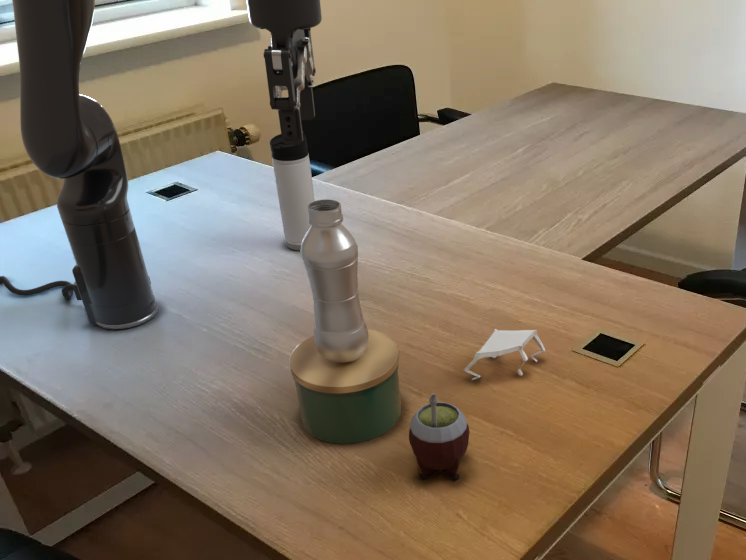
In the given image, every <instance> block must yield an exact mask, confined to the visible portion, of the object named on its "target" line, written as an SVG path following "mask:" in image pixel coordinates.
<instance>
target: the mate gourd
mask: <svg viewBox="0 0 746 560" xmlns="http://www.w3.org/2000/svg"><path fill="white" fill-rule="evenodd" d="M428 401H429V403H427V404H424V405H423V406H421V407H420V408H419V409H418V410H417V411H416V413H414V414H413V416H412V417H411V420H410V425H409V431H408V441H409V445H410V447H411V449H412V452H413V455H414V457H415V459H416V464H417V466H418V468H419V471H420V473H419V474H418V477H419V479H420V480H421V481H424V480H427V479H428V478H430V477H432V476H434V475H435V474H438V473H439V472H442V473H443V474H444V475H446V476H447V477H449V478H450V479H451V480H453V481H454V482H457V481H458V480H460V477H461V475H459V474H458V470H459V467H460V462H461V460H462V459H463V457H464V456H465V454H466V452H467V449H468V447H469V440H470V427H469V424H468V420H467V418H466V416H465V414H464V413H463V411H462V410H461V409H459V408H458V407H457V406H455V405H454V404H452V403H449V402H448V403H447V402H445V401H438V397H437V394H435V393H431V394H430V397H429V400H428Z"/></svg>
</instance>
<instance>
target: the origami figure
mask: <svg viewBox="0 0 746 560" xmlns="http://www.w3.org/2000/svg"><path fill="white" fill-rule="evenodd" d="M531 339H533V341H534V342H535V343H536V344H537V345H538V347H539V349H540V350H539V351H537V352H535V353H533V354H531V355H530V356H529V357H528V355H527V354H526V352H525V350H524V347H525V346H526V345H527V344H528V343H529V342H530V341H531ZM517 351H518V352H519V353H520V356H521V358H522V362H521V364H520V365H519V366H518V368H517V370H516V372H517V374H518V376H523V375H524V373H523V371H522V367H523V366H524V365H525V364H526V362H527V361H528V360H529V358H530V359H531V360H532V361H534V362H535V363H537V362H539V360H538V359H537V358H535V356H537V355H539V354H542V353H544V352H546V348H545V345H544V344H543V342H542V340H541V339H540V337H539V335H538V330H537V329H521V330H519V329H517V330H510V329H509V330H507V329H506V330H503V329H500V330H499V329H497V328H494V331H493V332H492V334H491V335H490V336H489V338H488V339H487V340H486V342H485V343H484V344H483V345H482V347H481V348H480V350H478V351H477V352H475V354H474V358H473V359H472V361H471V362H470V363H469V364H468V365H467V366H466V367H464V369H463V370H462V371H463V372H465V373H467V374H469V375H472V376H473V378H472V379H471V381H476V380H478V379H479V378H481V377H482V375H480V374H478V373H476V372H474V371H472V370H470V369H471V368H472V367H473V366H474V365H475V364H476V363H478V362H479V360H481V359H484V358H493V359H496V358H497V357H501V356H504V355H507V354H511V353H514V352H517Z"/></svg>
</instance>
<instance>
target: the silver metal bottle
mask: <svg viewBox="0 0 746 560" xmlns="http://www.w3.org/2000/svg"><path fill="white" fill-rule="evenodd" d="M308 222H309V224H310V225H311V227H310V229H309V230H308V231H307V233H306V235H305V236H304V238H303V240H302V243H301V250H299V251H300V255H301V259H302V260H301V261H302V262H303V265H304V268H305V271H306V274H307V279H308V281H309V286H310V290H311V295H312V300H313V314H314V328H313V336H314V341H315V344H316V347H317V350H318V352H319V353H320V354H321V355H322V356H323V357H324V358H325V359H327V360H328V361H331V362H337V363H345V362H351V361H354V360H357V359H358V358H360V357H361V356H363V354H364V353H365V351H366V350H367V348H368V340H369V334H368V330H367V329H368V326H367V324H366V321H365V318H364V315H363V311H362V306H361V301H360V296H359V281H358V267H359V266H358V265H359V246H358V243H357V241H356V239H355V237H354V235H353V234H352V233H351V232H350V231H349V229H348V228H346V226H345V225H344V224H342V223H343V222H344V215H343V210H342V205H341V202H340V201H338V200H336V199H324V198H323V199H317V200H315V201H314V202H311V203H310V204H309V205H308Z"/></svg>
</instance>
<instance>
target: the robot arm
mask: <svg viewBox="0 0 746 560" xmlns="http://www.w3.org/2000/svg"><path fill="white" fill-rule="evenodd" d="M245 2H246V6H247V13H248V14H247V15H248V20H249V23H250V25H252V26H253V27H254V28H256V29H259V30H266V31H268V32H270V36H271V37H270V43H271V45H268V46H267V48H264V50H263V59H264V65H265V73H266V80H267V81H266V82H267V88H268V95H269V96H268V97H269V106H270V108H271V110H275V111H277V112H278V120H279V127H280V134H281V136H282V141H283V143H284V144H286V145H300V144H301V143H302V141H303V132H304V131H303V123H302V121H313V120H314V119H315V118H316V111H315V100H314V92H313V86H314V83H315V78H314V77H316V73H317V69H316V67H315V66H316V65H315V59H314V50H313V43H312V41H313V40H312V35H311V34H312V32H311V31H312V28H315V27H317V26H319V25H320V24H321V22H322V20H323V19H322V18H323V17H322V9H321V0H246V1H245ZM12 7H13V9H12V10H13V18H14V27H15V29H14V30H15V37H16V45H17V55H18V64H19V121H20V122H19V123H20V124H19V125H20V134H21V136H20V137H21V140H22V144H23V148H24V150H25V152H26V154H27V155H28V157H29V159H30V161H31V162H32V164H34V166H35V167H36V168H37V169H39V171H40V172H42V173H43V174H45V175H46V176H48V177H51V178H54V179H58V180H59V179H60V180H61V179H63V184H62V186H61V189H60V191H59V193H58V195H57V197H56V207H57V211H58V214H59V218H60V220H61V223H62V227H63V229H64V232H65V235H66V238H67V241H68V244H69V246H70V250H71V253H72V256H73V259H74V262H75V265H74V266H73V268H72V271H71V273H72V275H73V277H74V278H73V279H74V282H73V283H72V282H69V281H67V280H56V281H52V282H48V283H45V284H43V285H41V286H37V287H34V288H30V289H29V288H28V289H19V288H17V287H15V286H14V285H13V284H12V283H11V282H10V280H9V279H8V278H7V276H5V275H0V284H3V286H4V287H5V288H6V289H7V290H8V291H9V292H10V293H12V294H14V295H17V296H20V297H21V296H22V297H26V296H27V297H28V296H34V295H37V294H41V293H43V292H47V291H50V290H52V289H56V288H59V287H62V289H61V294H62V296H63V298H64V299H65V300H70V299H71V297H72V295H73V293H74V295H75V298H76V300H77V301H81V303H82V305H83V308H84V311H85V314H86V317H87V320H88V323H89V326H98V327H100V328H102V329H106V330H125V329H130V328H134V327H138V326H140V325H142V324H145V323H146V322H148V321H150V320H151V319H153V318H154V317H155V316H156V315H157V314H158V311H159V308H158V307H159V306H158V303H157V301H156V298H155V295H154V291H153V288H152V282H151V278H150V276H149V274H148V270H147V266H146V262H145V259H144V255H143V251H142V248H141V244H140V240H139V236H138V234H137V231H136V227H135V222H134V220H133V215H132V213H131V208H130V204H129V201H128V193H129V192H128V191H129V179H128V178H129V177H128V174H127V169H126V165H125V160H124V155H123V151H122V146H121V142H120V139H119V133H118V132H117V128H116V127H115V124H114V121H113V119H112V118H111V116H110V114H109V113H108V111H107V110H106V109H105V107H103V106H102V105H101V103H99V102H98V101H97V100H95V99H93V98H91V97H89V96H86V95H83V94H80V72H81V66H82V62H83V57H84V54H85V51H86V47H87V43H88V40H89V36H90V33H91V30H92V29H91V28H92V24H93V20H94V14H95V8H96V0H12ZM283 91H287V93H288V94H287V96H288V97H287V96H286V97H284V96H282V95H283V94H282V93H283ZM302 131H303V132H302Z"/></svg>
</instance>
